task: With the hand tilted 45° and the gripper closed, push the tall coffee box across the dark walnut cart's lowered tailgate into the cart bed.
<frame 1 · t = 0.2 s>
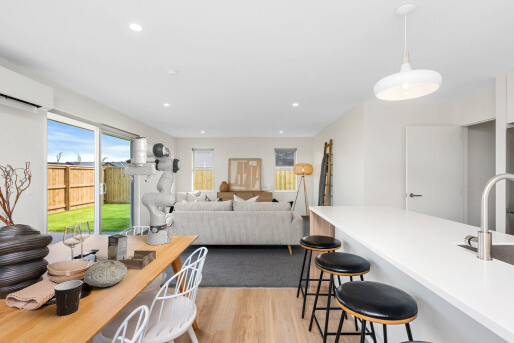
hand: (139, 182, 163), 48 cm above the table, tool pointing down, fingers open, 8 cm apart
walnut cart: (138, 263, 146), on the table
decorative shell: (105, 284, 118), on the table
coffee box: (116, 263, 146), on the table, touching walnut cart
coffee mug: (65, 314, 92), on the table
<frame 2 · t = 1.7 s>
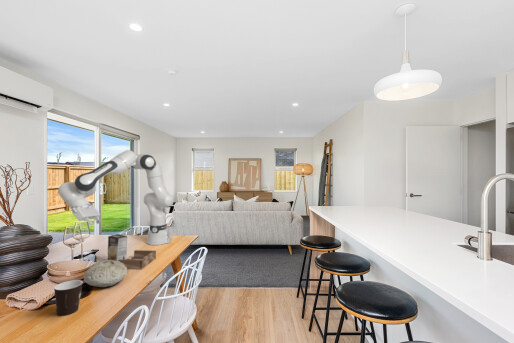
hand: (95, 223, 146), 23 cm above the table, tool tilted 40°, fingers open, 8 cm apart
nothing on the table moved.
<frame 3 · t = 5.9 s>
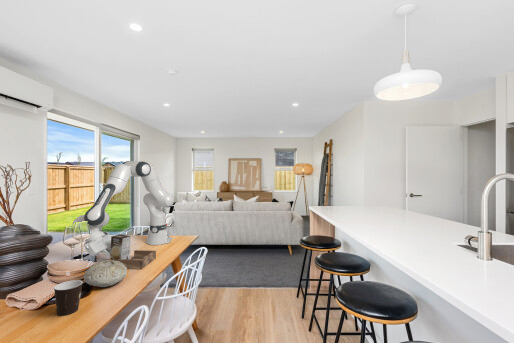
hand: (110, 255, 147), 4 cm above the table, tool tilted 45°, fingers closed
coffee box: (119, 263, 146), on the table, touching gripper, walnut cart
everything else where it was.
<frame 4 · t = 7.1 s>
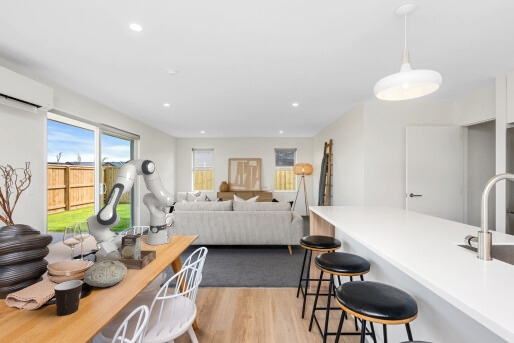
hand: (122, 255, 146), 4 cm above the table, tool tilted 45°, fingers closed, pressing on coffee box
coffee box: (130, 263, 146), on the table, touching gripper
everything else where it was.
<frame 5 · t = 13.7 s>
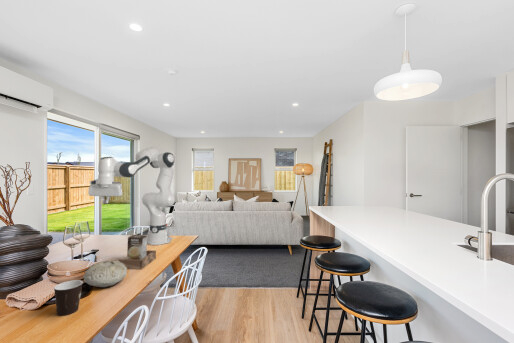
hand: (105, 203, 158), 34 cm above the table, tool pointing down, fingers closed
coffee box: (136, 263, 146), on the table
everything else where it was.
at the end: coffee box inside the target area (0.5 cm from its centre), on the table; coffee box tilted 0° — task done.
